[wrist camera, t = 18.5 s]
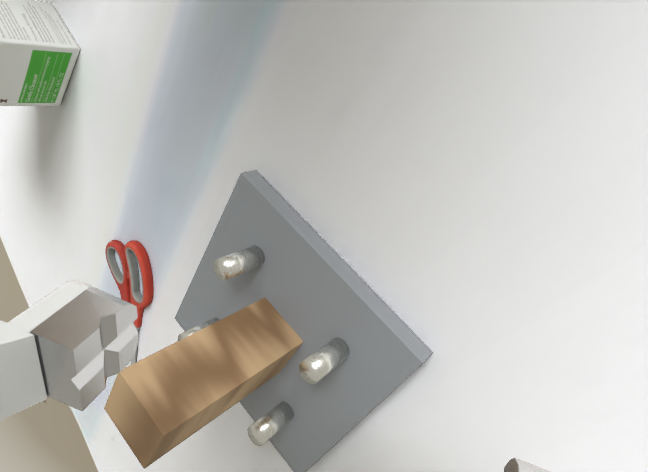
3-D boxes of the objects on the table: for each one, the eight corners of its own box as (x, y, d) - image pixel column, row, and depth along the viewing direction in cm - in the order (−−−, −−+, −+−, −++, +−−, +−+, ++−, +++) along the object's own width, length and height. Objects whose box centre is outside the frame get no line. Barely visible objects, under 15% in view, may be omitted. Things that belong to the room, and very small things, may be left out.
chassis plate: (187, 312, 45) (174, 318, 44) (255, 170, 35) (241, 172, 34) (309, 466, 40) (298, 477, 39) (432, 352, 30) (422, 363, 28)
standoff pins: (209, 324, 41) (175, 341, 38) (254, 241, 35) (218, 254, 32) (288, 423, 38) (258, 449, 35) (353, 350, 32) (322, 375, 29)
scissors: (132, 389, 58) (121, 395, 57) (111, 228, 51) (98, 231, 50) (171, 415, 54) (160, 422, 52) (153, 243, 47) (140, 247, 46)
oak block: (244, 330, 38) (104, 408, 29) (265, 297, 36) (119, 371, 26) (279, 373, 37) (144, 468, 28) (303, 341, 34) (163, 435, 25)
